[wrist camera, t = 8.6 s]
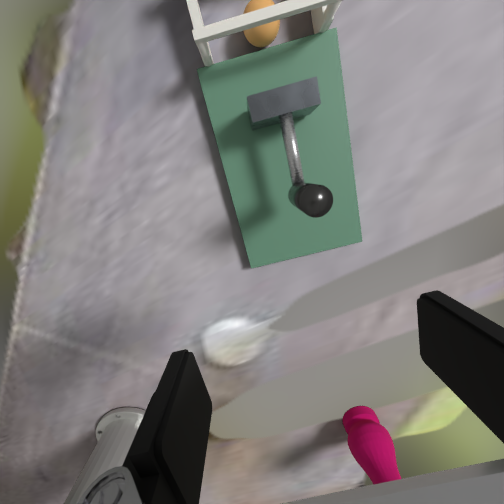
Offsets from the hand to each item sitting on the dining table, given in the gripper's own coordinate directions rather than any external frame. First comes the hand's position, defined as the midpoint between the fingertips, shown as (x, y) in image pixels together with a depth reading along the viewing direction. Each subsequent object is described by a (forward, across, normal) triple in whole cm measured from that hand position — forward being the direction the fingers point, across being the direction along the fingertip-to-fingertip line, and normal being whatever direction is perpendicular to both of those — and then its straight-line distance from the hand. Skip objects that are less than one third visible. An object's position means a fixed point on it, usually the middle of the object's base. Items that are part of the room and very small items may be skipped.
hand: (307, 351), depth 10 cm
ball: (+24, -5, -22) cm, 33 cm away
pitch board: (+26, -5, -8) cm, 27 cm away
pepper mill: (+27, -9, +40) cm, 49 cm away
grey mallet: (+24, -5, -9) cm, 26 cm away
